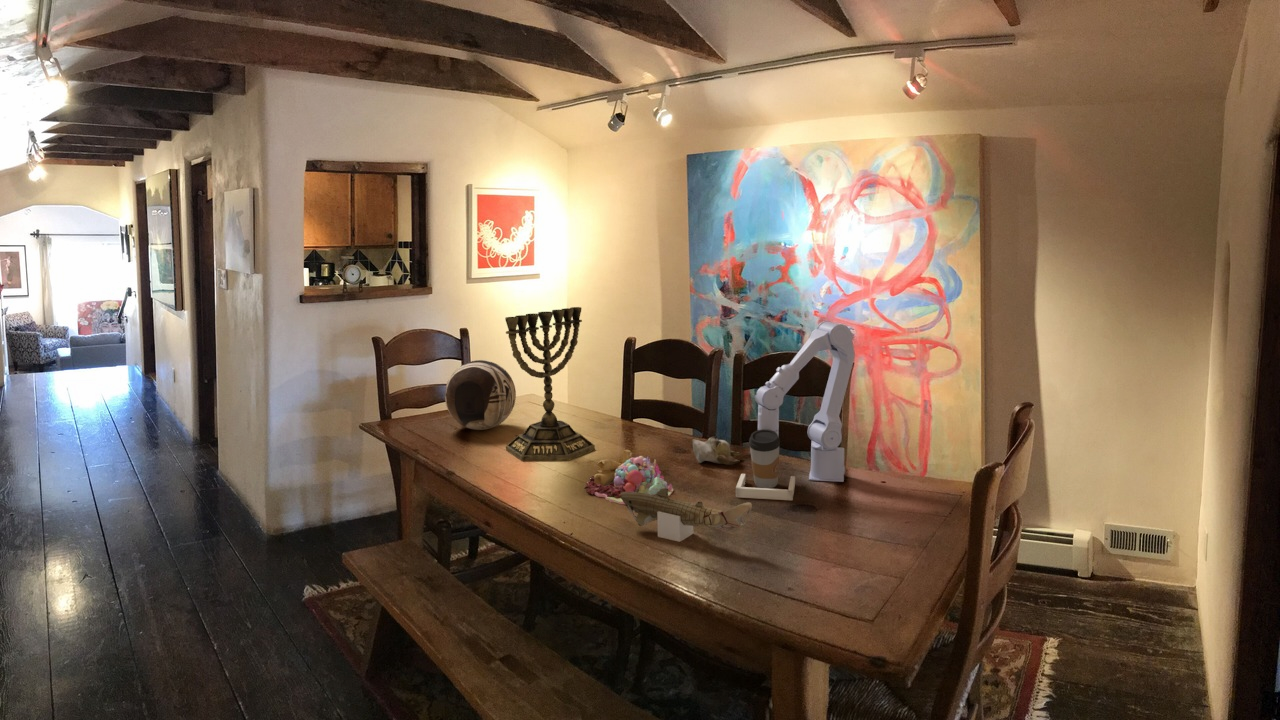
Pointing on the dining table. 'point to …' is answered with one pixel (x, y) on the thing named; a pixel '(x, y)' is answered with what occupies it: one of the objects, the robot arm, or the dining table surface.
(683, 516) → the wood carving
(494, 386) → the sphere
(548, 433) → the menorah
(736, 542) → the dining table surface
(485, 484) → the dining table surface
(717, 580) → the dining table surface
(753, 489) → the dock
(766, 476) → the coffee cup
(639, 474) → the candy landscape model
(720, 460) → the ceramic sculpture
